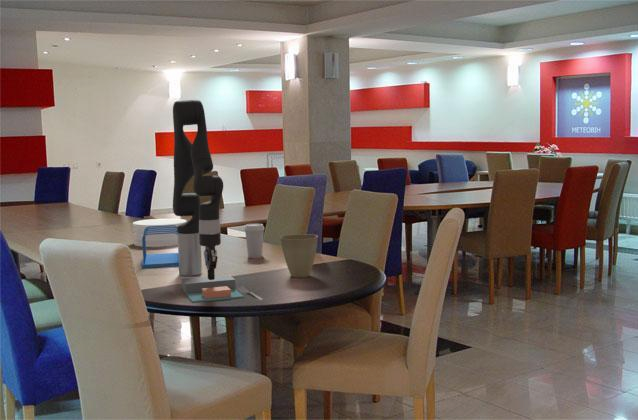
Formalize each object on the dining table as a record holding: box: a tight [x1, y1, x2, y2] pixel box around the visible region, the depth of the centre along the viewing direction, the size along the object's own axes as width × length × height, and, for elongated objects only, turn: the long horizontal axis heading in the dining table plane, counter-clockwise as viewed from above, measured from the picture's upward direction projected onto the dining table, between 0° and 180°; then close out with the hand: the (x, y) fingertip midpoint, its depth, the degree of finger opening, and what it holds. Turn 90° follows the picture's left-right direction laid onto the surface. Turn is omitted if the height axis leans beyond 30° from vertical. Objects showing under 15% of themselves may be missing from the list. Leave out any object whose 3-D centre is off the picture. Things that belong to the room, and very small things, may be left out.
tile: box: [202, 286, 231, 299], centre depth 244 cm, size 6×9×2 cm, turn 112°
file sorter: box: [141, 225, 179, 269], centre depth 313 cm, size 25×17×15 cm
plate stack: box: [132, 218, 188, 248], centre depth 370 cm, size 28×28×12 cm
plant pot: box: [280, 233, 319, 278], centre depth 278 cm, size 15×15×16 cm
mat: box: [185, 288, 244, 303], centre depth 245 cm, size 12×18×1 cm, turn 110°
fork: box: [235, 285, 263, 301], centre depth 246 cm, size 3×24×2 cm, turn 31°
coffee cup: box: [243, 223, 266, 259], centre depth 323 cm, size 10×10×15 cm
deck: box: [180, 274, 236, 295], centre depth 256 cm, size 10×18×4 cm, turn 110°
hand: (211, 279), depth 250 cm, fingers closed
